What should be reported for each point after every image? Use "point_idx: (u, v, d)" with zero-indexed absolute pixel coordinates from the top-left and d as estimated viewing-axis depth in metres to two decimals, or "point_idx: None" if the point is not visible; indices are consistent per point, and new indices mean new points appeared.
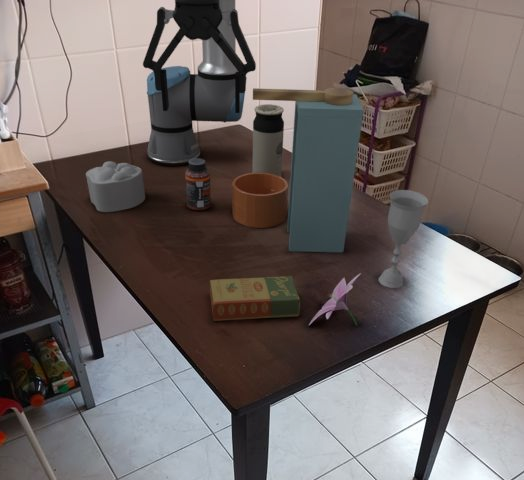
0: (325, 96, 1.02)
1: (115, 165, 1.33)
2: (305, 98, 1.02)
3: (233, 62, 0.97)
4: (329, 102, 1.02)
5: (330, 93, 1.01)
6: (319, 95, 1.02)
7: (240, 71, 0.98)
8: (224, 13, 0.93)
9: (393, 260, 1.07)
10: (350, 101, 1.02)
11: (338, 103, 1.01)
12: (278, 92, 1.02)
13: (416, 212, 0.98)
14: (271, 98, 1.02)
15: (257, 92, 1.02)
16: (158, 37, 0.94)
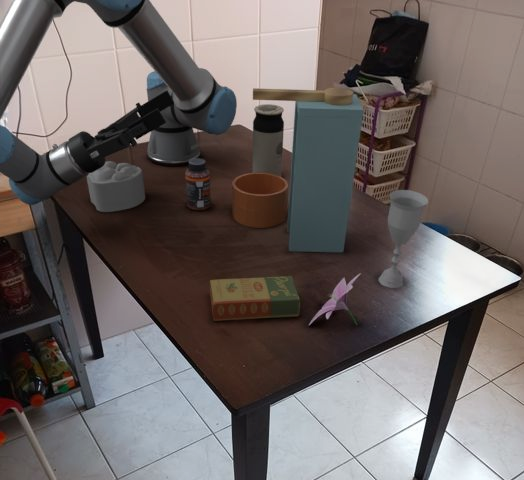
0: (325, 96, 1.02)
1: (115, 165, 1.33)
2: (305, 98, 1.02)
3: (131, 112, 1.11)
4: (329, 102, 1.02)
5: (330, 93, 1.01)
6: (319, 95, 1.02)
7: (138, 107, 1.11)
8: None
9: (393, 260, 1.07)
10: (350, 101, 1.02)
11: (338, 103, 1.01)
12: (278, 92, 1.02)
13: (416, 212, 0.98)
14: (271, 98, 1.02)
15: (257, 92, 1.02)
16: (103, 141, 1.02)
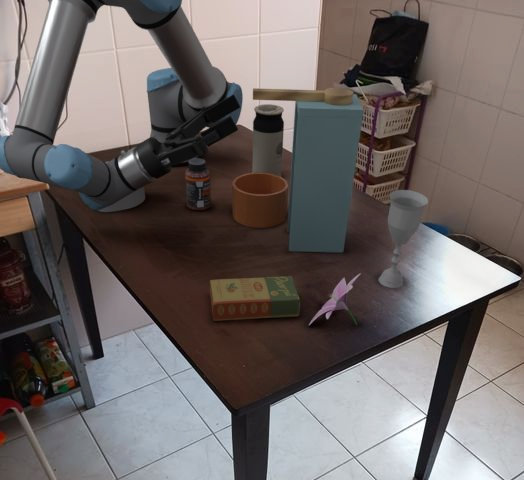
0: (325, 96, 1.02)
1: None
2: (305, 98, 1.02)
3: (197, 117, 1.11)
4: (329, 102, 1.02)
5: (330, 93, 1.01)
6: (319, 95, 1.02)
7: (204, 111, 1.12)
8: None
9: (393, 260, 1.07)
10: (350, 101, 1.02)
11: (338, 103, 1.01)
12: (278, 92, 1.02)
13: (416, 212, 0.98)
14: (271, 98, 1.02)
15: (257, 92, 1.02)
16: (175, 148, 1.02)
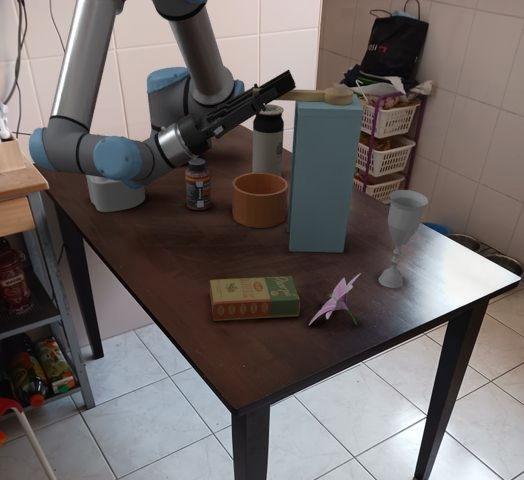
0: (325, 96, 1.02)
1: None
2: (305, 98, 1.02)
3: (246, 94, 1.04)
4: (329, 102, 1.01)
5: (330, 93, 1.01)
6: (319, 95, 1.02)
7: None
8: None
9: (393, 260, 1.07)
10: (350, 101, 1.02)
11: (338, 103, 1.01)
12: None
13: (416, 212, 0.98)
14: None
15: (257, 92, 1.01)
16: (228, 114, 1.01)
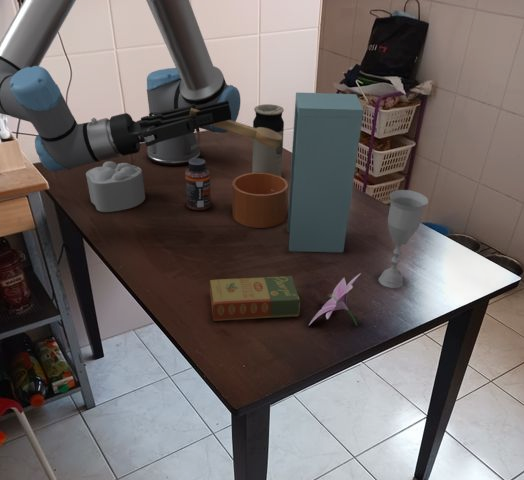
0: (256, 134, 1.08)
1: (115, 165, 1.33)
2: (238, 131, 1.08)
3: (182, 111, 1.07)
4: (259, 140, 1.08)
5: (261, 133, 1.08)
6: (251, 131, 1.08)
7: None
8: None
9: (393, 260, 1.07)
10: (278, 145, 1.10)
11: (267, 144, 1.08)
12: None
13: (416, 212, 0.98)
14: None
15: (194, 112, 1.05)
16: (162, 125, 1.03)
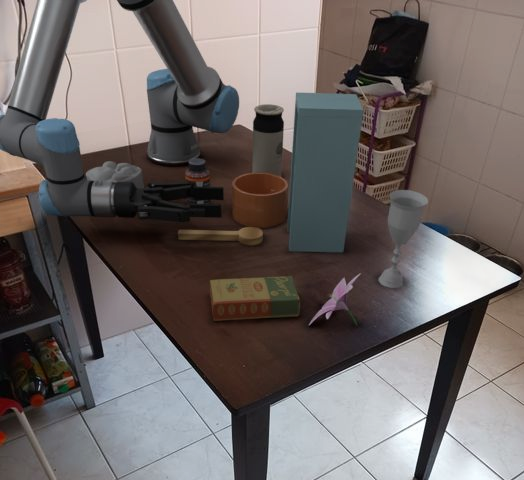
0: (239, 237, 1.21)
1: (115, 165, 1.33)
2: (222, 238, 1.21)
3: (182, 187, 1.19)
4: (242, 242, 1.21)
5: (243, 235, 1.20)
6: (234, 236, 1.21)
7: (190, 186, 1.19)
8: None
9: (393, 260, 1.07)
10: (260, 241, 1.21)
11: (249, 244, 1.20)
12: (199, 234, 1.21)
13: (416, 212, 0.98)
14: (194, 238, 1.21)
15: (181, 234, 1.21)
16: (158, 207, 1.11)
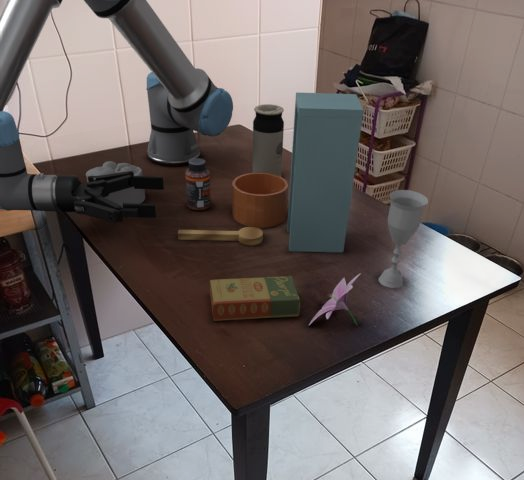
0: (239, 237, 1.21)
1: (115, 165, 1.33)
2: (222, 238, 1.21)
3: (123, 177, 1.20)
4: (242, 242, 1.21)
5: (243, 235, 1.20)
6: (234, 236, 1.21)
7: (130, 175, 1.21)
8: None
9: (393, 260, 1.07)
10: (260, 241, 1.21)
11: (249, 244, 1.20)
12: (199, 234, 1.21)
13: (416, 212, 0.98)
14: (194, 238, 1.21)
15: (181, 234, 1.21)
16: (94, 203, 1.10)
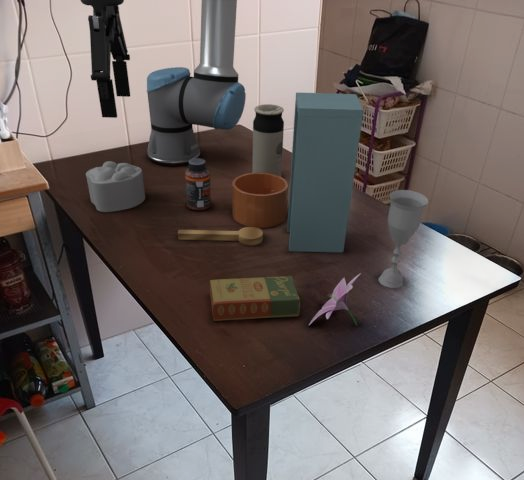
0: (239, 237, 1.21)
1: (115, 165, 1.33)
2: (222, 238, 1.21)
3: (123, 50, 1.07)
4: (242, 242, 1.21)
5: (243, 235, 1.20)
6: (234, 236, 1.21)
7: (125, 57, 1.09)
8: None
9: (393, 260, 1.07)
10: (260, 241, 1.21)
11: (249, 244, 1.20)
12: (199, 234, 1.21)
13: (416, 212, 0.98)
14: (194, 238, 1.21)
15: (181, 234, 1.21)
16: (106, 44, 0.94)
